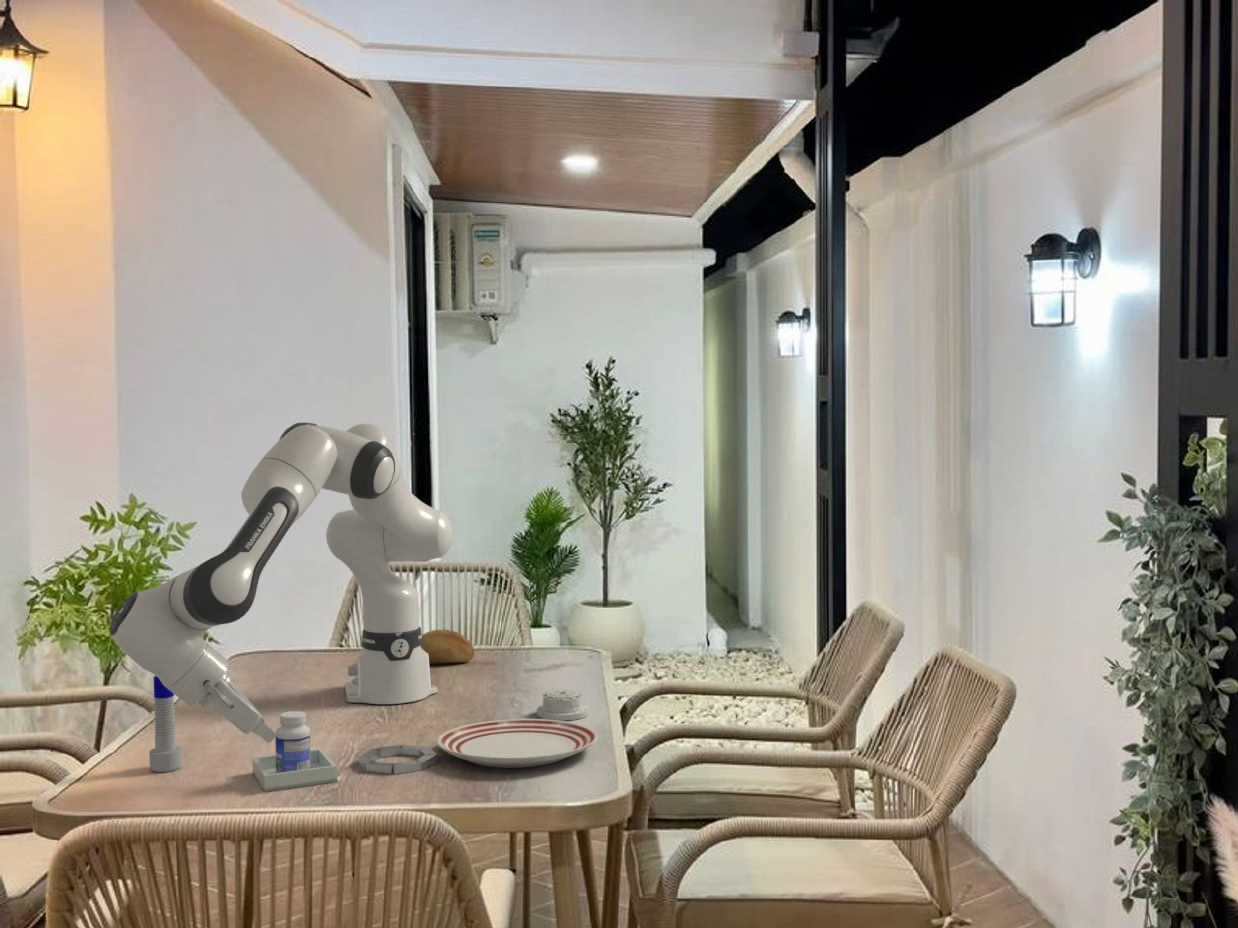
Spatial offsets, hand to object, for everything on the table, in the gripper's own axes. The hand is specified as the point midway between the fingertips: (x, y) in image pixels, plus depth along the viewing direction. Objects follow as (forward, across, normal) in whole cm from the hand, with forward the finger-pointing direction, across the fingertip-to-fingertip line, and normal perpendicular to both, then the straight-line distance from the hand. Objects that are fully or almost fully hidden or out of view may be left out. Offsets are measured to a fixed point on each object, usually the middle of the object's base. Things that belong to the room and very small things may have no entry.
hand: (266, 731), depth 192 cm
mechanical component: (+47, +16, -36) cm, 61 cm away
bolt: (-4, +16, +15) cm, 22 cm away
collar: (+21, +1, -9) cm, 23 cm away
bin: (+9, +1, +3) cm, 9 cm away
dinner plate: (+35, -4, -23) cm, 42 cm away
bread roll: (+43, +74, -32) cm, 91 cm away
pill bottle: (+8, +1, +2) cm, 9 cm away
